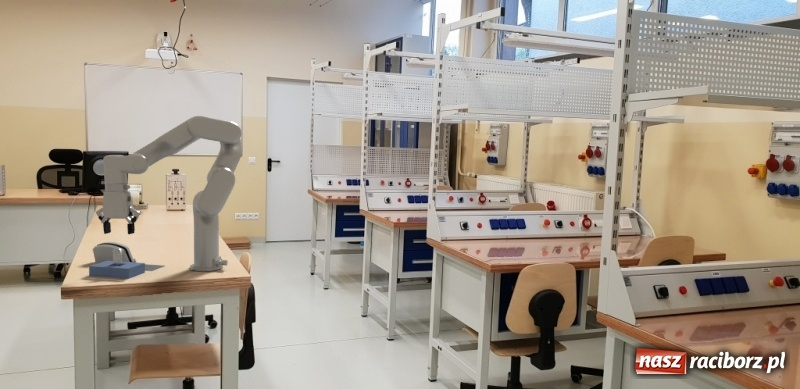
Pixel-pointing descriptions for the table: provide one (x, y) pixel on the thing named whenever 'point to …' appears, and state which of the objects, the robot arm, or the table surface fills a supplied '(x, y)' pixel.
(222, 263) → the robot arm
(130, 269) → the hole block
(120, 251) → the peg
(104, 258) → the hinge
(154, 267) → the mat
